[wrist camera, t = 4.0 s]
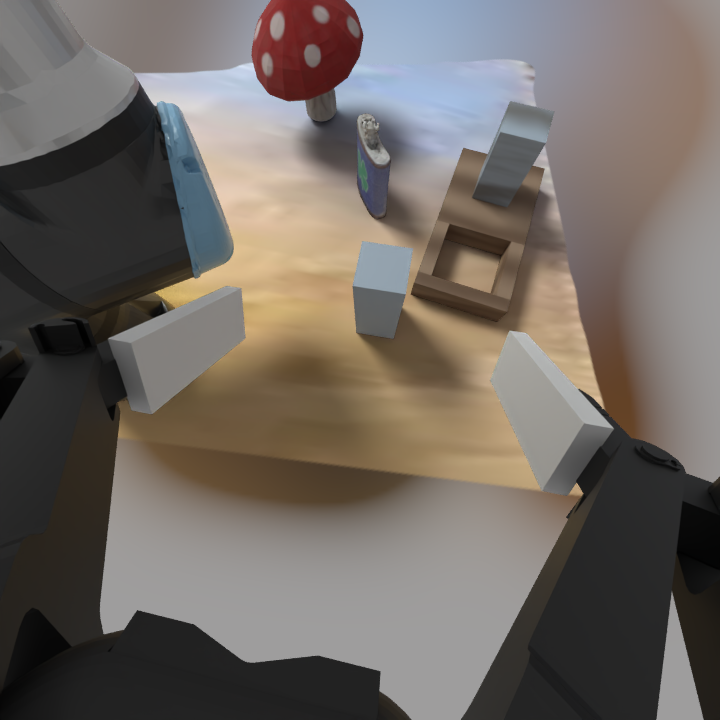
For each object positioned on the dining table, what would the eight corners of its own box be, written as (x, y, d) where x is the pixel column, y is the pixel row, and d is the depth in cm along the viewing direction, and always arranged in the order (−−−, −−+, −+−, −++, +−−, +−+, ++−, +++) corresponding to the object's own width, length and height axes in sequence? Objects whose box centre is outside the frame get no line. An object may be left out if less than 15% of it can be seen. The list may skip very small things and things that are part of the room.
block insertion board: (496, 321, 39) (551, 270, 27) (410, 294, 40) (428, 233, 29) (533, 186, 45) (590, 97, 34) (457, 166, 46) (487, 74, 35)
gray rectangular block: (393, 338, 39) (405, 294, 27) (356, 332, 39) (352, 285, 27) (399, 305, 40) (412, 248, 28) (363, 299, 40) (362, 241, 29)
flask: (388, 217, 44) (395, 147, 34) (369, 222, 44) (370, 153, 34) (370, 171, 47) (371, 94, 36) (352, 176, 46) (348, 99, 36)
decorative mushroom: (365, 154, 47) (365, 27, 33) (267, 157, 48) (225, 33, 33) (362, 85, 52) (361, -53, 37) (273, 88, 52) (237, -48, 38)
